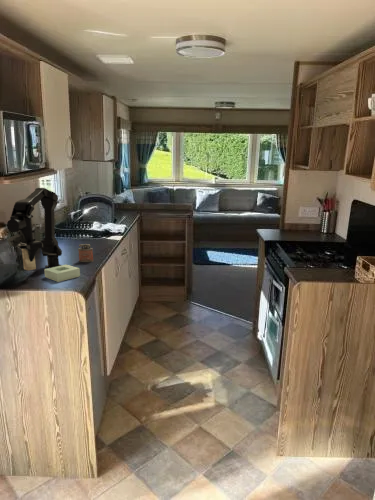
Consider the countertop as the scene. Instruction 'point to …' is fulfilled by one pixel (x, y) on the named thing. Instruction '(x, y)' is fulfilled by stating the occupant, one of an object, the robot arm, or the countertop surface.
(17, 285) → the countertop surface
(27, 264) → the peg
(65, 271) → the well holder
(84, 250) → the lighter
